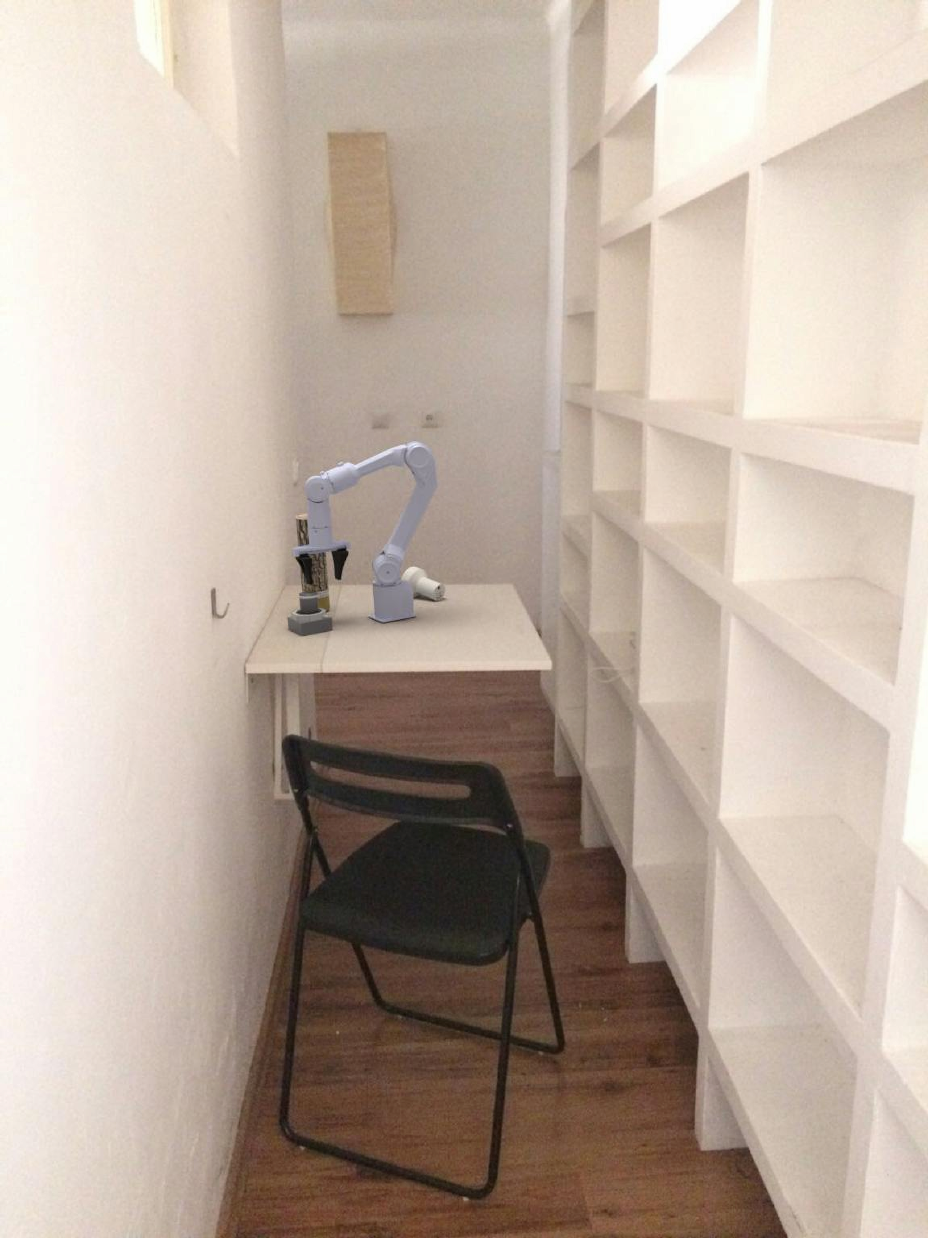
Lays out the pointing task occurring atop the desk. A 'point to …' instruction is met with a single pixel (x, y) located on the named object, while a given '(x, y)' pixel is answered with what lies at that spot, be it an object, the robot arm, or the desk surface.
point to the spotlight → (423, 584)
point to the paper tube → (314, 566)
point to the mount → (309, 622)
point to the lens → (308, 603)
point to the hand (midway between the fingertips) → (324, 581)
